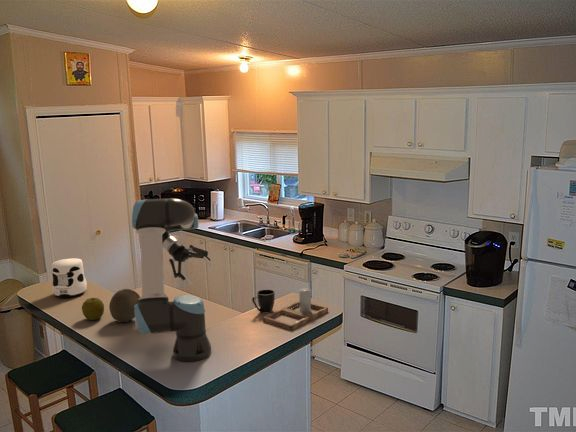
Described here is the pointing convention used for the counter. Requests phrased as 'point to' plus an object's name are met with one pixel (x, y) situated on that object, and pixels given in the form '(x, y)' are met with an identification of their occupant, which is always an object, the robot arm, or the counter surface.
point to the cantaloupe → (123, 305)
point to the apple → (93, 308)
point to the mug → (265, 300)
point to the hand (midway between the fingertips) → (201, 274)
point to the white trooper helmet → (68, 277)
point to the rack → (300, 315)
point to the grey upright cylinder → (305, 300)
